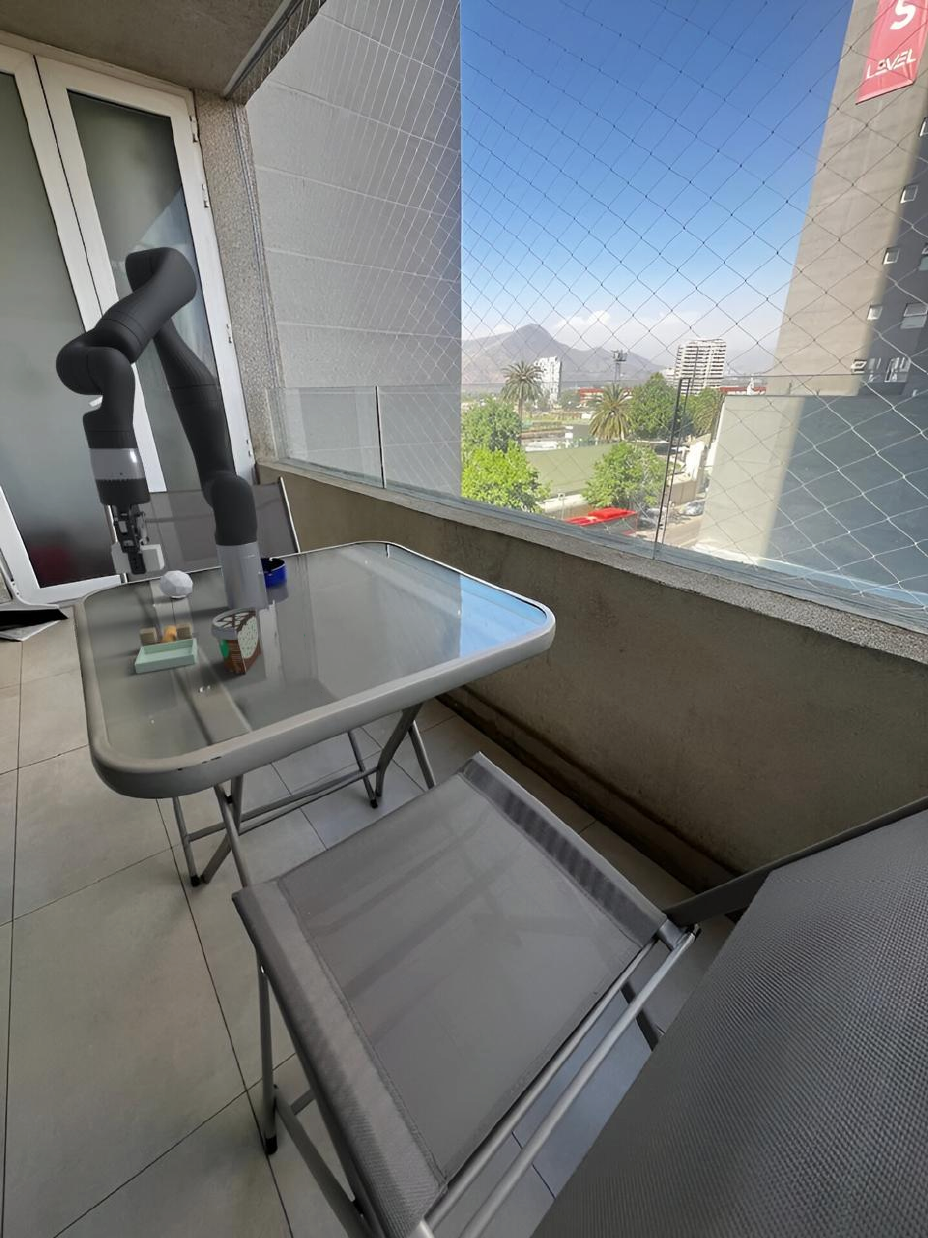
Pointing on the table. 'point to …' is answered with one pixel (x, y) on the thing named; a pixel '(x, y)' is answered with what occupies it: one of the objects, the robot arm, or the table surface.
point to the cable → (169, 634)
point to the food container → (238, 638)
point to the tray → (166, 655)
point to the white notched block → (150, 555)
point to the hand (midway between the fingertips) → (142, 570)
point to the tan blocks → (151, 638)
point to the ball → (176, 583)
